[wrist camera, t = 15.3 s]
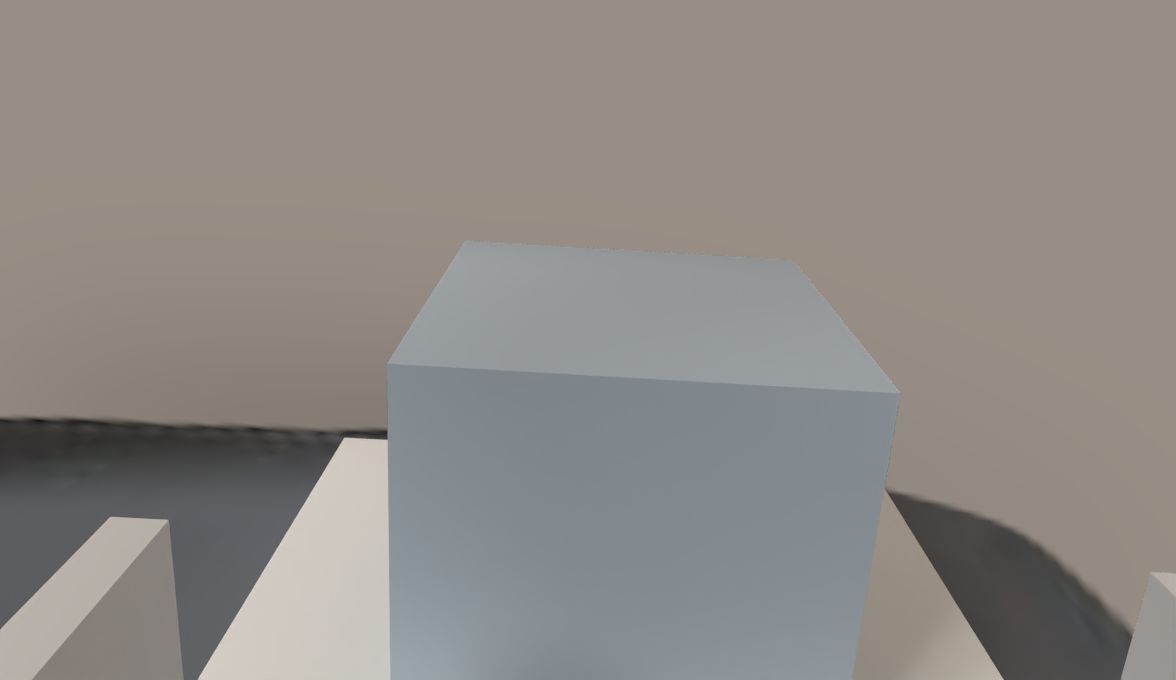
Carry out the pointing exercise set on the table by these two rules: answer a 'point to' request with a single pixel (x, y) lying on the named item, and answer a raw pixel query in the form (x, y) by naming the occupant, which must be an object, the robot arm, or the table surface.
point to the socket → (362, 612)
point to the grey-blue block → (631, 471)
